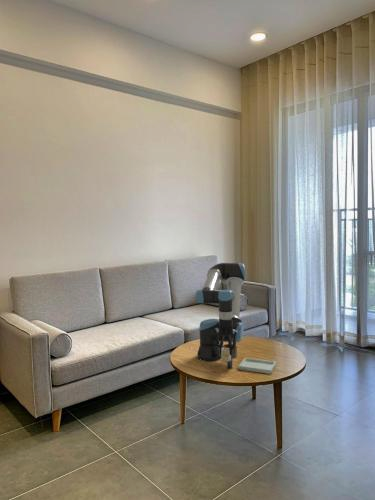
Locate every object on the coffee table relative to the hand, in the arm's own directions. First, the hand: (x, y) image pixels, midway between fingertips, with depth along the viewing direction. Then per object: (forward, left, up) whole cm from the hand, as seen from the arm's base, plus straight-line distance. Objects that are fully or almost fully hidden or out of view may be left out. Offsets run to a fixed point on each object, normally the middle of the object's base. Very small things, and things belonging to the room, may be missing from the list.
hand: (226, 359), depth 212 cm
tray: (+15, +13, -7) cm, 20 cm away
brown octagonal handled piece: (0, +4, 0) cm, 4 cm away
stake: (0, +6, -7) cm, 9 cm away
